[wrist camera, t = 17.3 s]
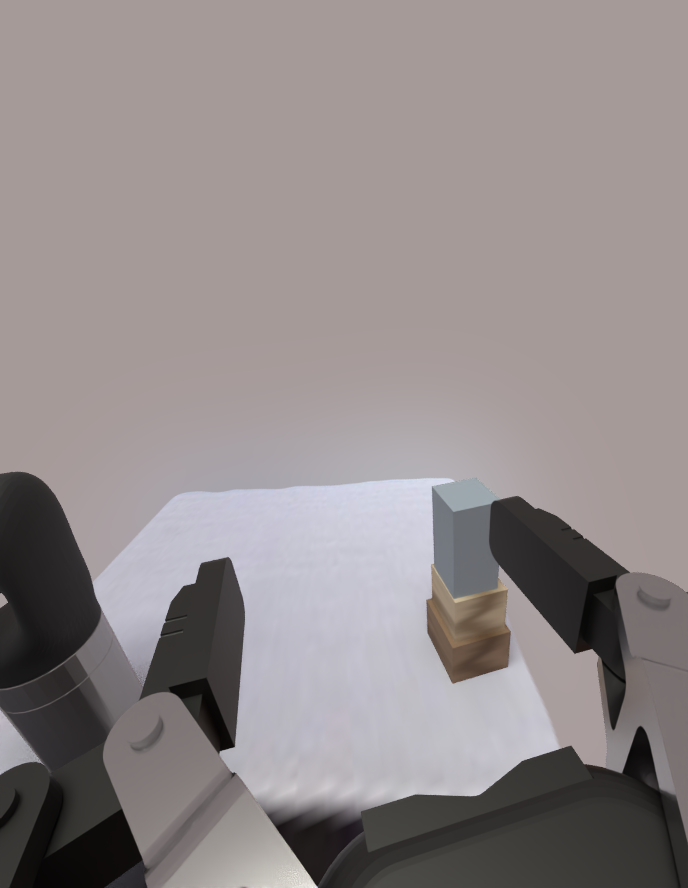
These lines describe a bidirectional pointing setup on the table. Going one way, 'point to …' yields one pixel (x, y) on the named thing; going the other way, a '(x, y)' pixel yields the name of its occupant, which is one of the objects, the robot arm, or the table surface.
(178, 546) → the table surface
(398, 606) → the table surface
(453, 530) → the slate block
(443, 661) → the walnut block
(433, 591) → the beech block
